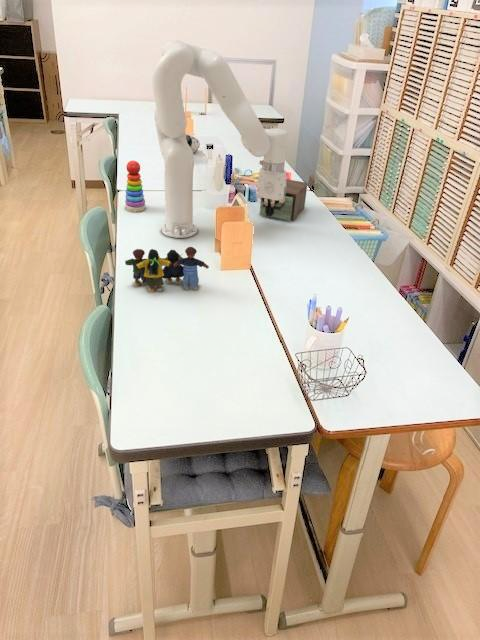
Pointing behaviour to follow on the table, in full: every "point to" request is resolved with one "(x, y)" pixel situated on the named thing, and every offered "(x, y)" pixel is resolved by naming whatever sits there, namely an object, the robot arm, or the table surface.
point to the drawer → (280, 208)
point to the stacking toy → (134, 188)
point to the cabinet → (296, 196)
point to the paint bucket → (192, 143)
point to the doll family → (165, 268)
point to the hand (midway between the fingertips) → (269, 215)
